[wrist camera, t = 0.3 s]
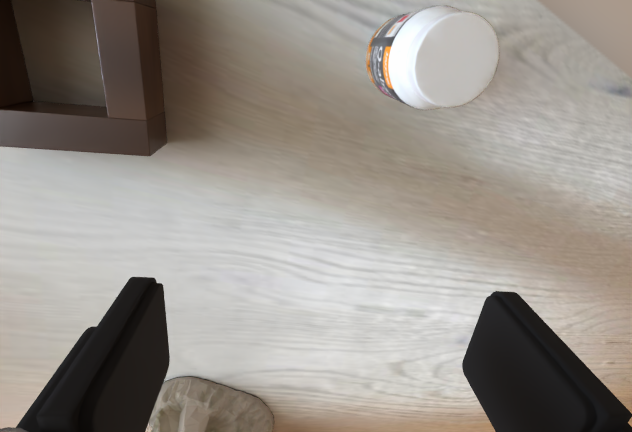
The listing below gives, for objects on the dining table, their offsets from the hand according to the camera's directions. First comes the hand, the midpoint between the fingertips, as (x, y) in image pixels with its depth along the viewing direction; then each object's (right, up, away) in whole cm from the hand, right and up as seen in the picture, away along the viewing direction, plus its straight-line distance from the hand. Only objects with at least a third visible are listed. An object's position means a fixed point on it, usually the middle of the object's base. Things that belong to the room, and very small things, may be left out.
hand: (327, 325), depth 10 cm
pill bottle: (+6, +15, +17) cm, 24 cm away
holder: (-18, +15, +15) cm, 28 cm away
